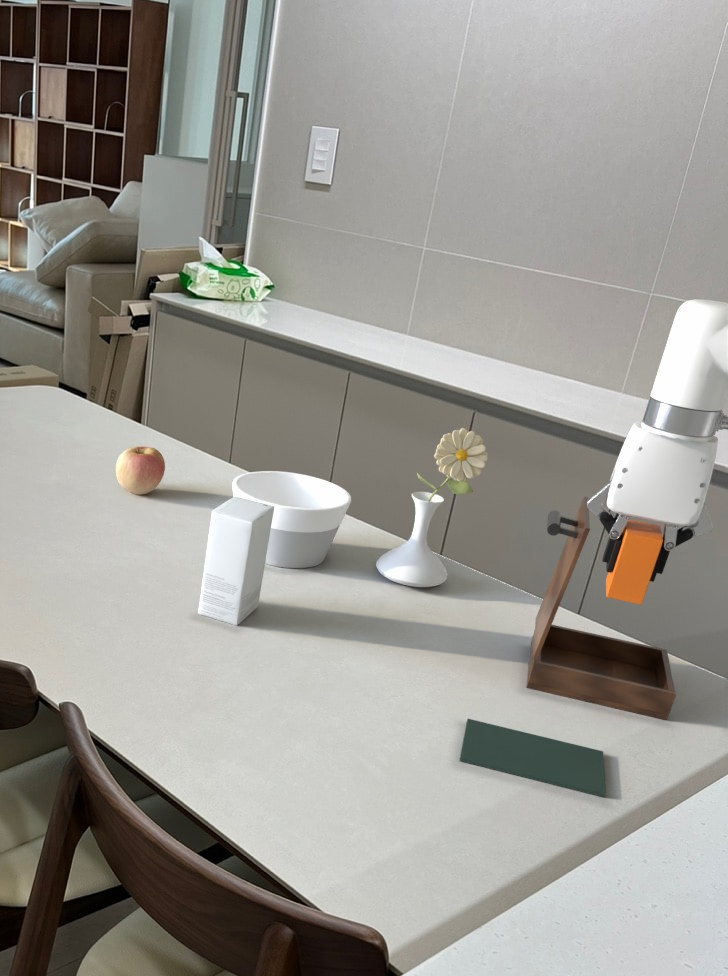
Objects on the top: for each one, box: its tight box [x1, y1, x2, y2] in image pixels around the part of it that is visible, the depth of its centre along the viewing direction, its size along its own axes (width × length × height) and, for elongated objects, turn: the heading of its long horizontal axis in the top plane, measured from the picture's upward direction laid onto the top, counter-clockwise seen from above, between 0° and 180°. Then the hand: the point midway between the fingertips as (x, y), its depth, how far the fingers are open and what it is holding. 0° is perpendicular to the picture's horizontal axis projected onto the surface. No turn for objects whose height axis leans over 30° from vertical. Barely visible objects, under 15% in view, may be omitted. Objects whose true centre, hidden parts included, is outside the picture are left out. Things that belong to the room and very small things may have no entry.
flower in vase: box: [375, 427, 489, 588], centre depth 164 cm, size 13×11×25 cm
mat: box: [459, 718, 606, 798], centre depth 123 cm, size 16×10×1 cm, turn 72°
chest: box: [526, 624, 677, 721], centre depth 143 cm, size 18×15×4 cm
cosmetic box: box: [197, 495, 274, 626], centre depth 147 cm, size 8×7×16 cm
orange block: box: [605, 519, 663, 606], centre depth 125 cm, size 4×6×8 cm, turn 161°
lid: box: [533, 495, 591, 660], centre depth 140 cm, size 18×15×4 cm
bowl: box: [231, 470, 352, 569], centre depth 172 cm, size 19×19×11 cm
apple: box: [115, 445, 166, 495], centre depth 192 cm, size 9×9×8 cm
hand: (630, 571), depth 125 cm, fingers closed on orange block, 4 cm apart
